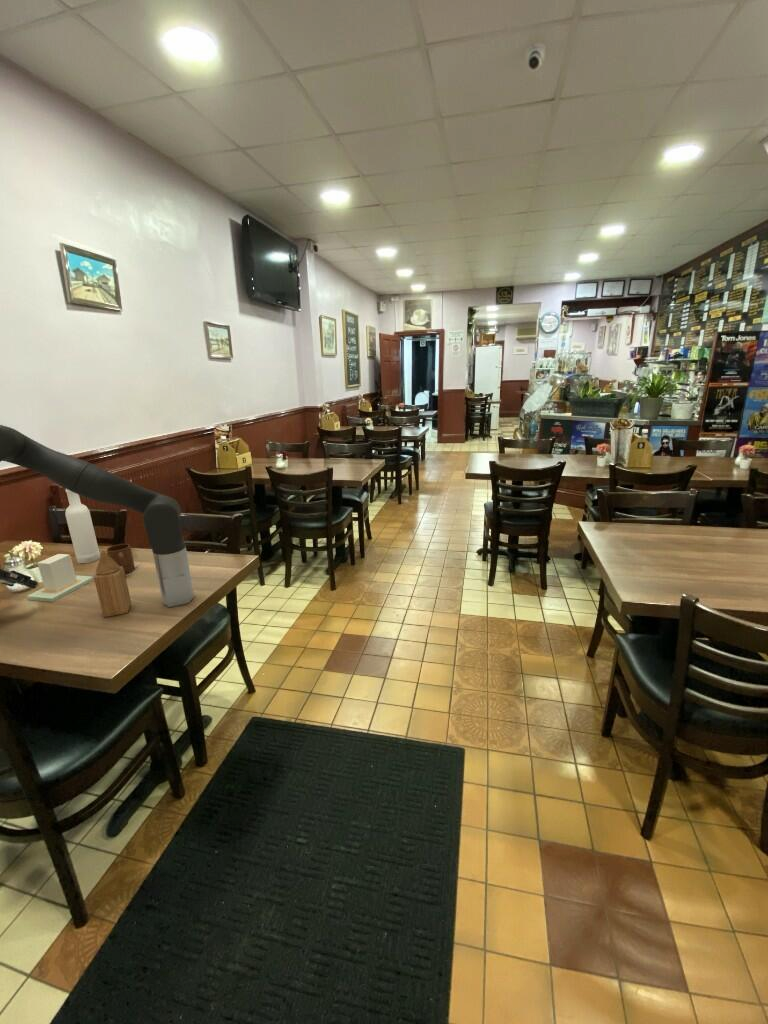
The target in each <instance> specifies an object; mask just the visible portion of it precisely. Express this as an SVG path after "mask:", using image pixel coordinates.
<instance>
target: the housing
mask: <svg viewBox="0 0 768 1024" xmlns="http://www.w3.org/2000/svg"><path fill="white" fill-rule="evenodd" d="M37 567H38V569H39V573H40V577H41V581H42V585H43V588H45V591H56V592H57V591H59V590H61V589H63V588H65V587H67V586H69V585H71V584H73V583H75V582H77V579H76V575H77V574H76V572H75V569H74V568H75V567H74V564H73V561H72V557H71V554H66V553H65V554H63V553H57V554H55V555H53V556H50V557H48V558H46V559H43V560H41V561H39V562H37Z"/></svg>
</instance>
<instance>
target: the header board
mask: <svg viewBox="0 0 768 1024" xmlns="http://www.w3.org/2000/svg"><path fill="white" fill-rule="evenodd" d="M75 575H76V579H77V582H75V583H73V584H71V585H69V586H67V587H65V588H63V589H61V590H59V591H57V592H56V591H45V588H44V587H43V588H42V587H41V588H40V589H39V590H37V591H35V592H33V593H30V594H28V595H26V597H27V598H26V599H27V600H29V601H30V600H31V601H39V602H40V601H41V602H49V603H50V602H51V603H54V602H56V601H58V600H59V599H60V598H62V597H65V596H66V595H69V594H70V593H72V592H74V591H76V590H78V589H80V588H82V587H84V586H85V584H86V585H88V584H89V583H91V582H92V580H93V581H94V577H95V576H89V575H77V574H75ZM90 581H91V582H90ZM83 585H84V586H83ZM81 586H82V587H81Z"/></svg>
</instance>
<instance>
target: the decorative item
mask: <svg viewBox="0 0 768 1024" xmlns="http://www.w3.org/2000/svg"><path fill="white" fill-rule="evenodd" d="M100 557H101V558H100V559H99V561H98V564H97V565H96V566H97V567H96V569H95V576H93V577H94V580H93V581H94V584H95V587H96V593H97V596H98V600H99V603H100V608H101V612H102V615H103V617H105V618H108V617H113V616H118V615H124V614H128V612H129V611H130V607H131V605H132V600H131V596H130V591H129V586H128V582H127V578H126V574H125V572H124V568H123V566H119V565H118V564H117V563H116V562H115V561H114V560H113V559H112V558H111V557H110V556H109V555H108V554H107V551H104V550H102V552H101V554H100Z"/></svg>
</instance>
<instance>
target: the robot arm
mask: <svg viewBox="0 0 768 1024" xmlns="http://www.w3.org/2000/svg"><path fill="white" fill-rule="evenodd" d="M1 462H7V463H10V464H13V465H17V466H20V467H22V468H25V469H28V470H31V471H34V472H36V473H38V474H40V475H42V476H44V477H45V478H46V479H48V480H50V481H51V482H53V483H55V484H56V485H58V486H60V487H62V488H63V489H65V490H66V489H67V490H70V491H72V492H74V493H76V494H79V496H81V497H84V498H86V499H89V500H91V501H96V502H100V503H104V504H111V505H117V506H120V507H121V506H122V507H125V508H129V509H131V510H134V511H135V512H137V513H139V514H142V515H143V522H144V524H143V525H144V528H145V532H146V536H147V541H148V544H149V546H150V547H151V551H152V556H153V561H154V566H155V572H156V575H157V581H158V586H159V590H160V596H161V600H162V604H163V605H164V606H167V608H171V607H177V606H181V605H185V604H190V602H191V601H192V600H193V599H194V598H195V592H194V587H193V581H192V575H191V569H190V564H189V558H188V553H187V552H188V551H187V547H186V542H185V537H183V534H182V528H181V523H180V517H181V513H182V508H181V506H180V503H178V501H177V500H176V499H174V498H172V497H170V496H168V495H165V494H162V493H159V492H156V491H153V490H151V489H148V488H145V487H142V486H139V485H138V484H135V483H133V482H131V481H129V480H127V479H126V478H122V477H120V476H119V475H116V474H114V473H112V472H110V471H108V470H106V469H104V468H101V467H99V466H97V465H95V464H93V463H91V462H88V461H86V460H83V459H80V458H78V457H75V456H72V455H69V454H67V453H63V452H61V451H57V450H54V449H52V448H50V447H47V446H45V445H43V444H41V443H40V442H38V441H36V440H35V439H32V438H31V437H29V436H27V435H25V434H23V433H22V432H20V431H18V430H17V429H15V428H13V427H9V426H6V425H3V424H0V463H1ZM38 583H39V582H38V581H37V580H34V579H32V577H31V576H30V575H27V574H23V573H21V572H18V571H15V570H9V569H8V568H4V567H2V568H1V566H0V584H2V585H4V586H5V585H6V586H8V587H15V586H14V585H15V584H16V585H21V586H24V587H27V588H29V589H36V588H37V585H38Z"/></svg>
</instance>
